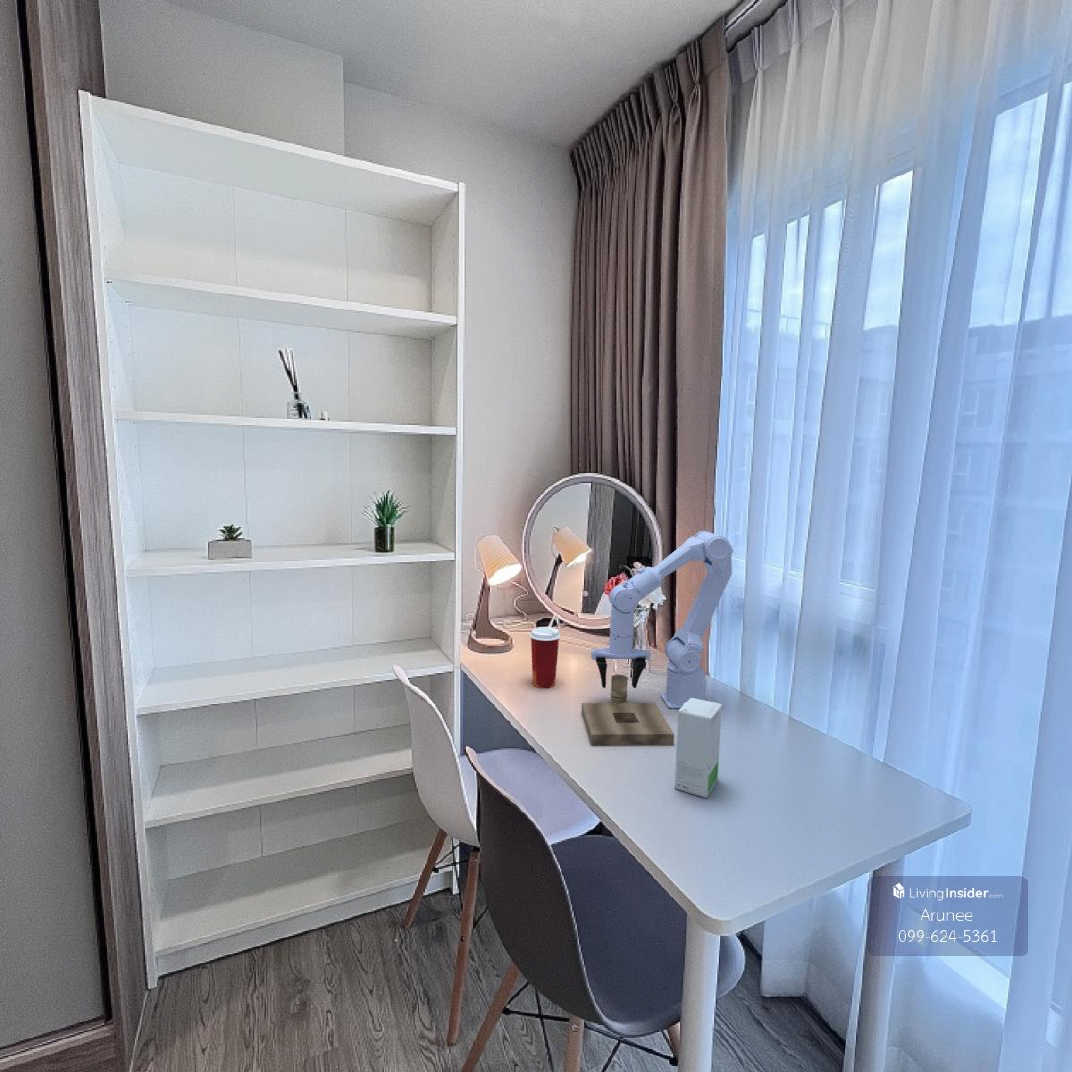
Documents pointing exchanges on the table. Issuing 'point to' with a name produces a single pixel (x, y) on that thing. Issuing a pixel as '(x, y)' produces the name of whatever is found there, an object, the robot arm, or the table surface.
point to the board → (626, 724)
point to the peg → (619, 689)
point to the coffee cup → (544, 656)
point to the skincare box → (698, 746)
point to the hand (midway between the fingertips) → (618, 686)
